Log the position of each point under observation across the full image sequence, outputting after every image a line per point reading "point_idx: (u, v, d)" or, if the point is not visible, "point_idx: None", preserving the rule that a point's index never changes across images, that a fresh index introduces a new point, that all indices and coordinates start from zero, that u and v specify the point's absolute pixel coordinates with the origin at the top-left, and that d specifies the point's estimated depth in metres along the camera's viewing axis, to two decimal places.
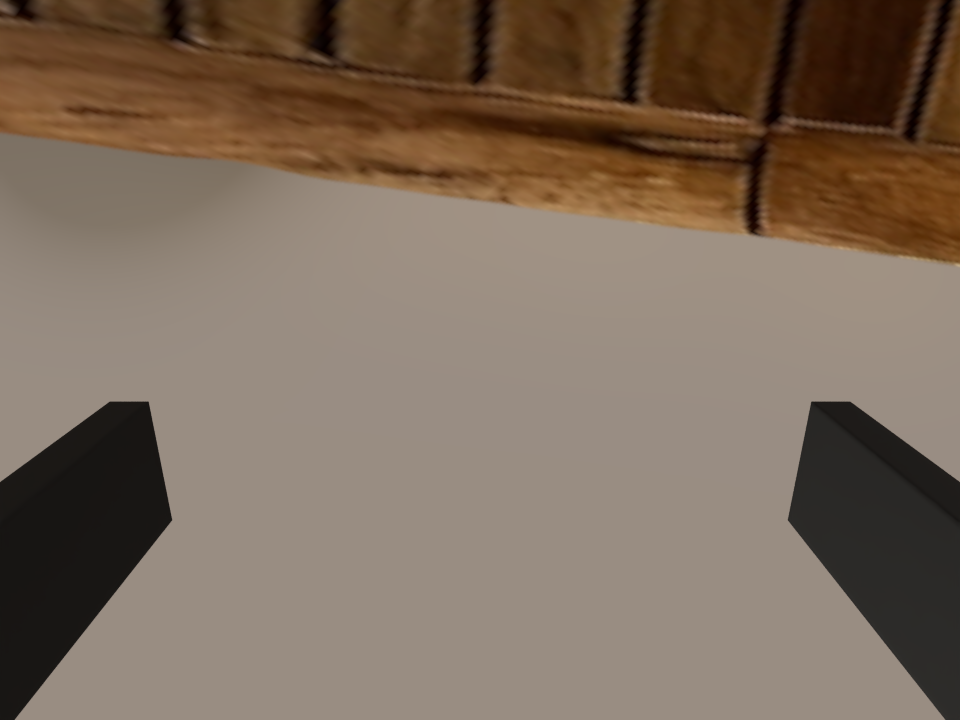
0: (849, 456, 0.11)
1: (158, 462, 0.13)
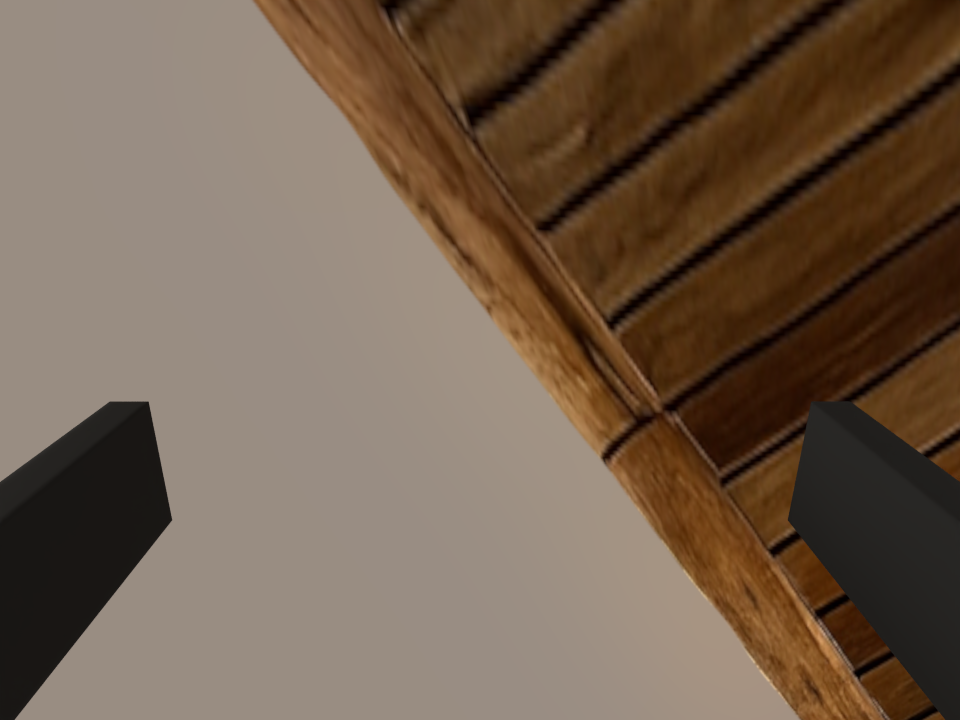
0: (849, 456, 0.11)
1: (157, 462, 0.13)
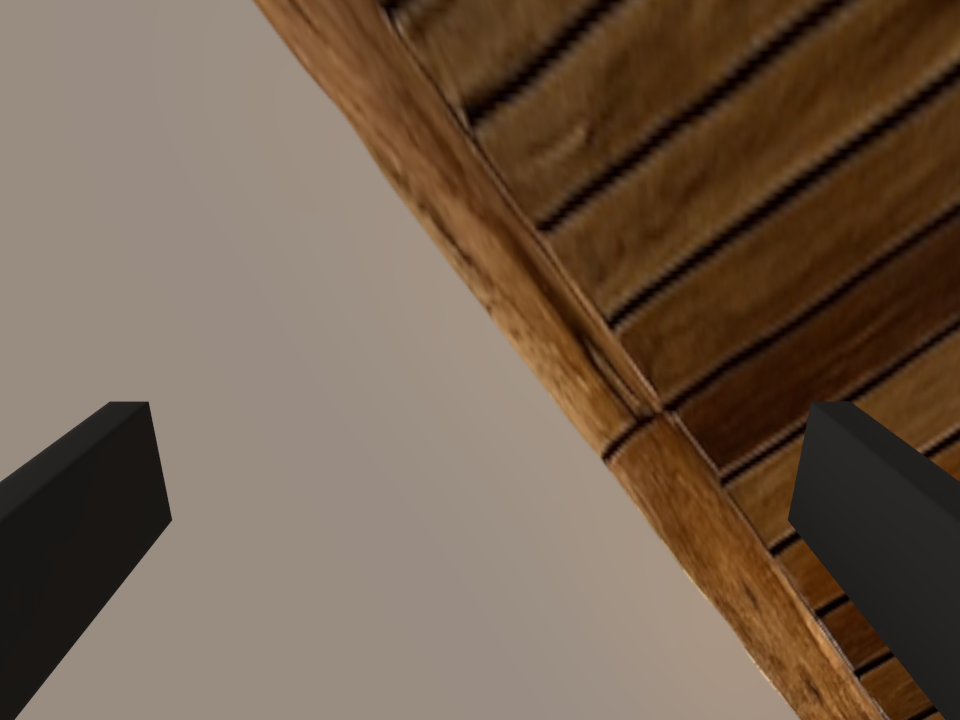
0: (849, 456, 0.11)
1: (157, 462, 0.13)
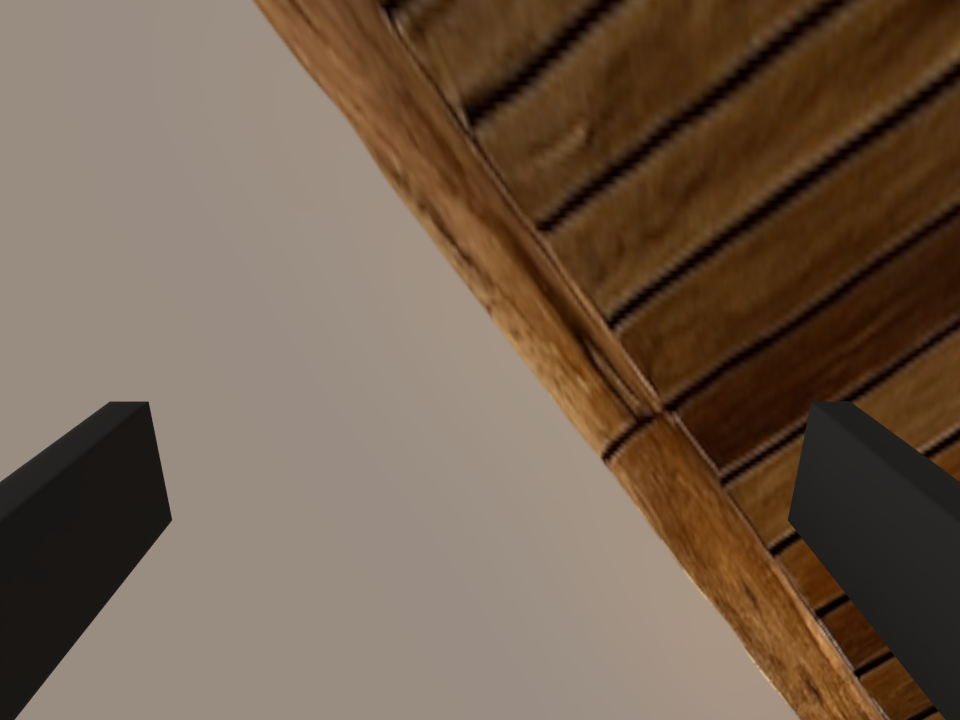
0: (849, 456, 0.11)
1: (157, 462, 0.13)
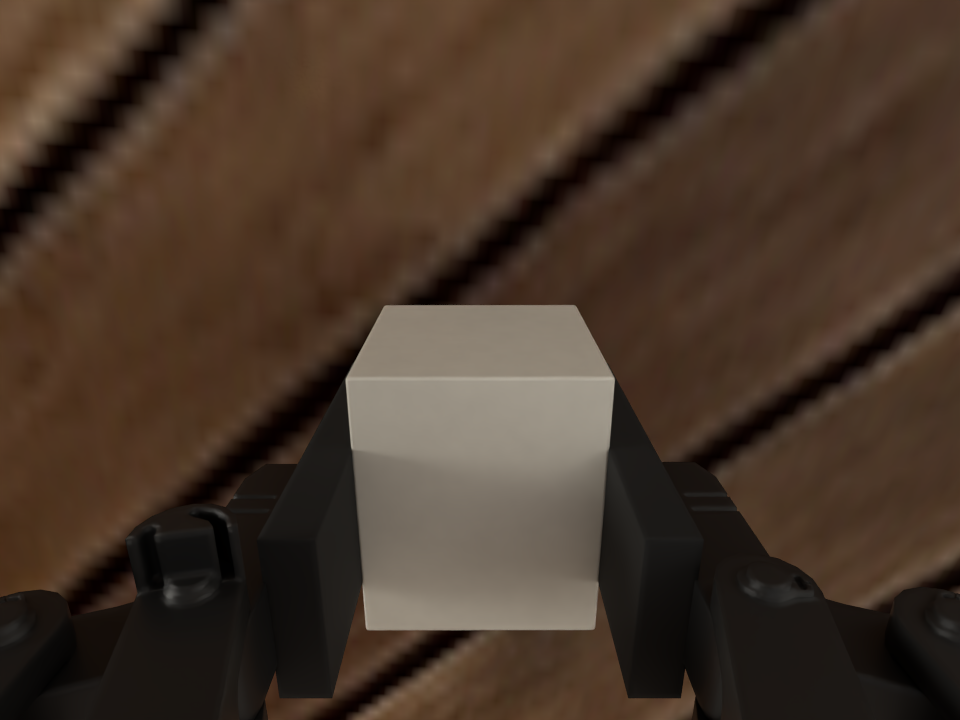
0: None
1: None
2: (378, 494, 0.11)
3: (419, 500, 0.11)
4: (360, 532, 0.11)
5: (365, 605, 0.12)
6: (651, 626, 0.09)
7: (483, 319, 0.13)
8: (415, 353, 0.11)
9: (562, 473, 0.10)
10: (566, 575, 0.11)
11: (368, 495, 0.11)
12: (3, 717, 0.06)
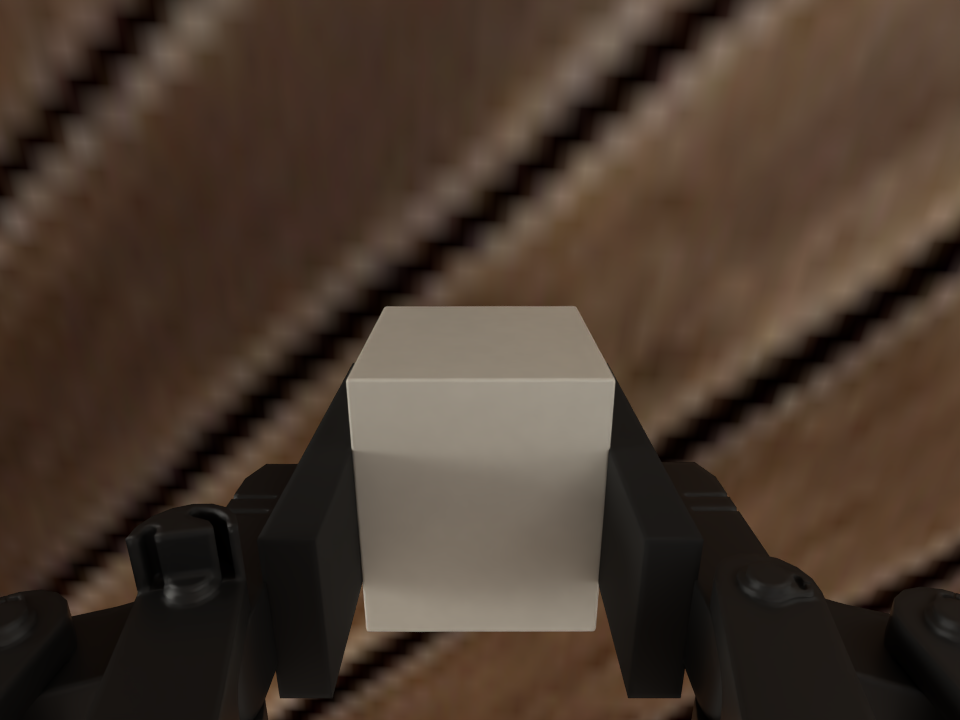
0: None
1: None
2: (377, 495, 0.11)
3: (419, 502, 0.11)
4: (361, 534, 0.11)
5: (365, 607, 0.12)
6: (651, 626, 0.09)
7: (483, 320, 0.13)
8: (415, 354, 0.11)
9: (563, 474, 0.10)
10: (567, 576, 0.11)
11: (368, 497, 0.11)
12: (4, 717, 0.06)
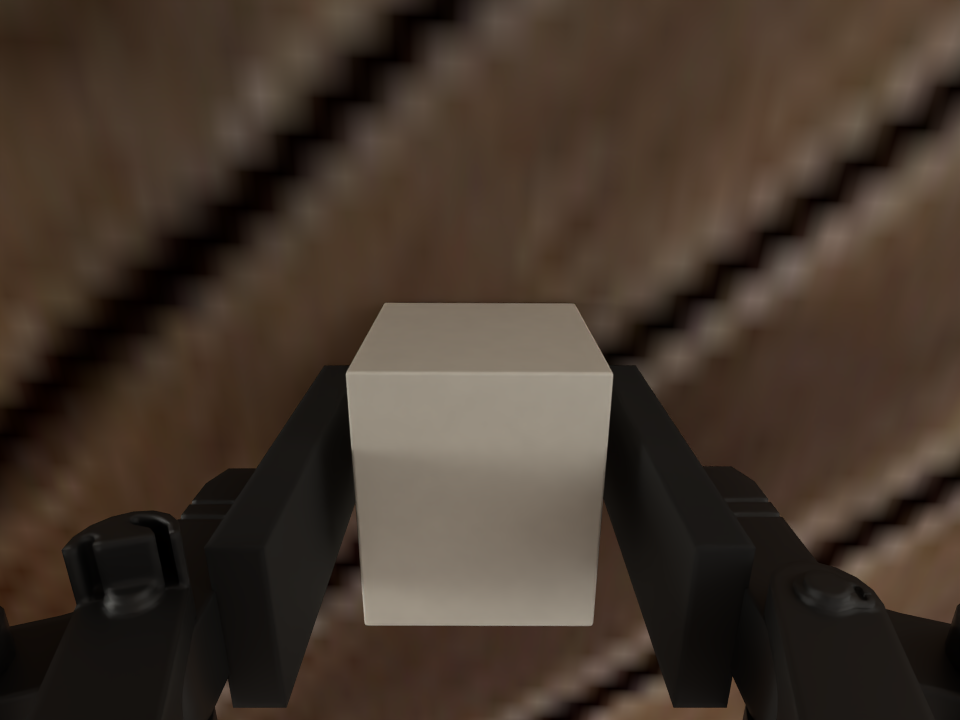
0: (614, 408, 0.13)
1: None
2: (377, 489, 0.11)
3: (418, 495, 0.11)
4: (359, 527, 0.11)
5: (363, 600, 0.12)
6: (699, 635, 0.08)
7: (482, 316, 0.13)
8: (415, 349, 0.11)
9: (560, 468, 0.11)
10: (564, 571, 0.11)
11: (368, 490, 0.11)
12: None
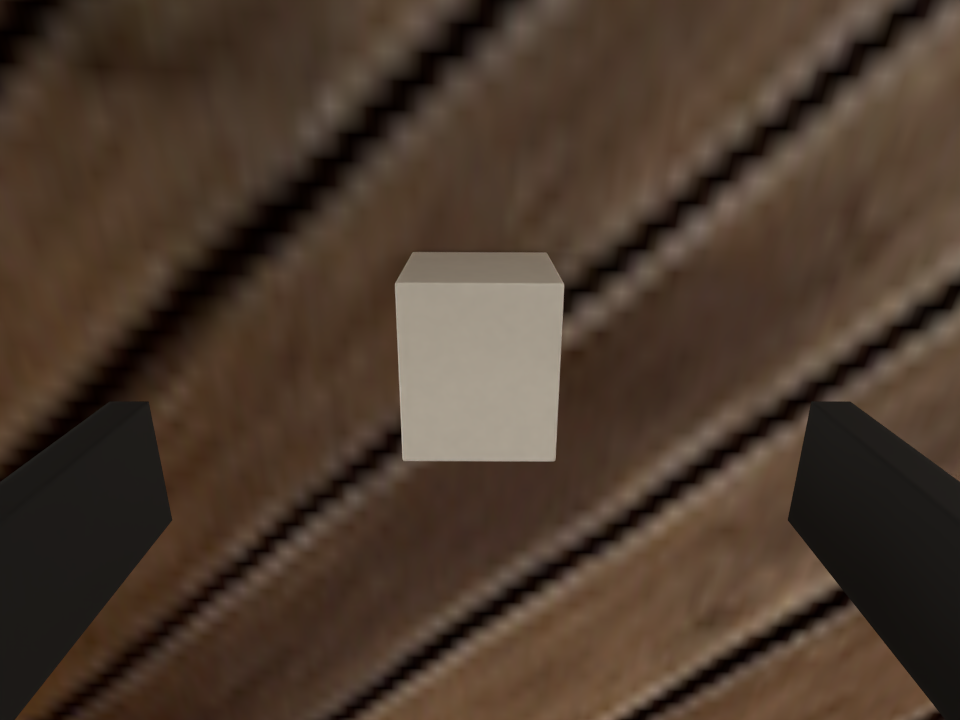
0: (849, 456, 0.11)
1: (157, 461, 0.13)
2: (413, 362, 0.16)
3: (439, 367, 0.17)
4: (401, 389, 0.17)
5: (402, 443, 0.17)
6: None
7: (482, 258, 0.19)
8: (437, 273, 0.17)
9: (532, 348, 0.16)
10: (535, 420, 0.17)
11: (407, 363, 0.16)
12: None
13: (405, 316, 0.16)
